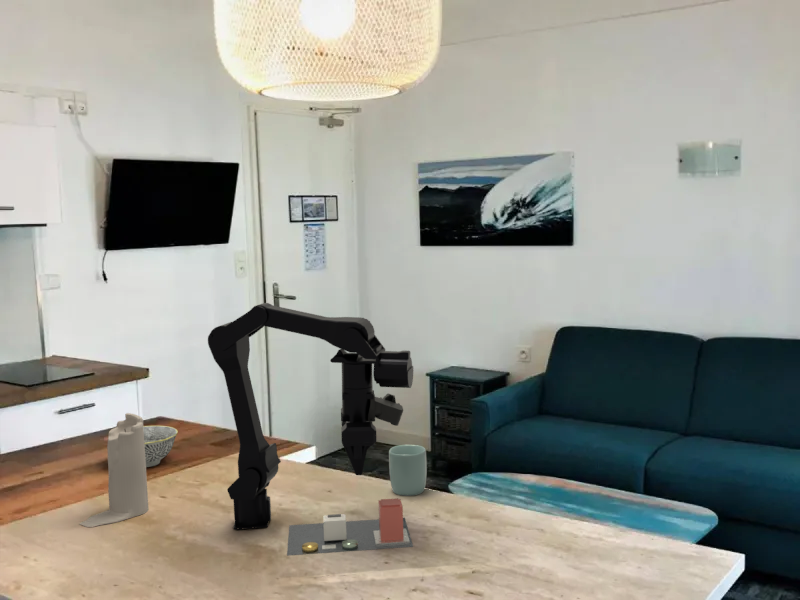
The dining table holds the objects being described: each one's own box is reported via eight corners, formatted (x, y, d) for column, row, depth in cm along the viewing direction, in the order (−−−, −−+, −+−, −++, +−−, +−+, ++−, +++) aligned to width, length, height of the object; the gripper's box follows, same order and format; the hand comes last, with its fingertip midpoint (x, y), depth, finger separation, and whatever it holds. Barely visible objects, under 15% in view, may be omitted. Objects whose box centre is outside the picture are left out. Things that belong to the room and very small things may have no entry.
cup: (423, 503, 171) (422, 455, 170) (386, 501, 172) (385, 454, 171) (429, 490, 178) (428, 444, 177) (394, 488, 180) (393, 443, 179)
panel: (287, 562, 144) (286, 551, 144) (289, 531, 158) (289, 521, 157) (413, 553, 146) (413, 542, 146) (404, 523, 160) (404, 514, 160)
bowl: (193, 459, 206) (191, 429, 206) (142, 477, 193) (140, 446, 192) (149, 450, 215) (147, 422, 214) (97, 468, 202) (95, 437, 201)
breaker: (324, 541, 149) (323, 520, 148) (324, 534, 152) (323, 514, 151) (346, 539, 149) (345, 519, 149) (345, 533, 152) (345, 513, 152)
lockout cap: (381, 540, 147) (379, 506, 147) (379, 532, 151) (378, 498, 151) (403, 539, 148) (402, 505, 147) (401, 530, 152) (400, 497, 151)
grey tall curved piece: (74, 522, 166) (66, 424, 164) (137, 502, 176) (131, 410, 174) (91, 530, 161) (84, 429, 159) (155, 510, 171) (149, 415, 169)
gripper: (404, 396, 146) (404, 482, 148) (396, 375, 165) (397, 451, 167) (340, 397, 146) (342, 484, 147) (340, 376, 164) (341, 453, 166)
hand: (358, 467), depth 157 cm, fingers open, 9 cm apart
